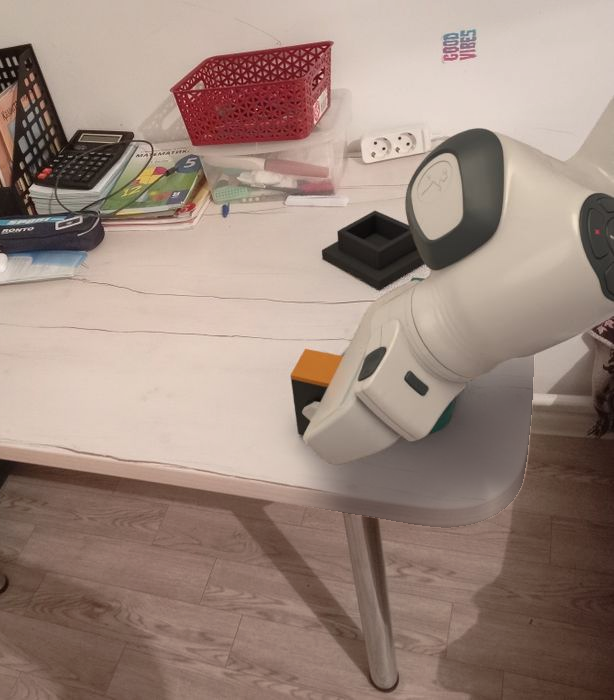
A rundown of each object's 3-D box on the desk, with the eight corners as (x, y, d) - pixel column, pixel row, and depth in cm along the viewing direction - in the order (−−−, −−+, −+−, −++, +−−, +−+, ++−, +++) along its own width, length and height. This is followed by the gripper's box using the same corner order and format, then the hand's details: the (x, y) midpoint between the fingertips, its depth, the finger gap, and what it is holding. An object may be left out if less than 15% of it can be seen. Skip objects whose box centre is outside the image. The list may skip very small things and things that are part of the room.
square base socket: (435, 256, 83) (437, 228, 80) (378, 290, 81) (378, 262, 78) (375, 228, 91) (375, 201, 88) (322, 258, 89) (320, 232, 86)
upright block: (356, 419, 66) (354, 358, 60) (344, 446, 64) (340, 386, 58) (311, 407, 69) (305, 348, 63) (297, 434, 66) (290, 374, 61)
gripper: (428, 246, 58) (330, 311, 69) (359, 400, 46) (255, 447, 57) (477, 291, 58) (372, 348, 69) (420, 454, 47) (305, 490, 58)
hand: (318, 394), depth 63 cm, fingers closed on upright block, 4 cm apart
